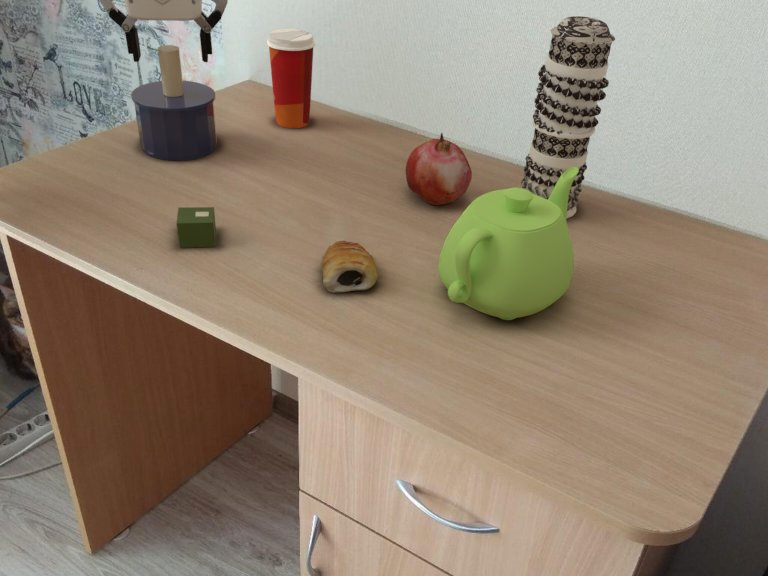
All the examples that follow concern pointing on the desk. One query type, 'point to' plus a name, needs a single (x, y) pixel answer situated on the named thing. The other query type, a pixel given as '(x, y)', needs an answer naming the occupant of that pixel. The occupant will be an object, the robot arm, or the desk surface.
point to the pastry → (348, 268)
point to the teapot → (510, 251)
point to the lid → (172, 87)
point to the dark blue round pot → (177, 133)
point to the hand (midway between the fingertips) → (171, 59)
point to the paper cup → (291, 75)
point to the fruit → (438, 171)
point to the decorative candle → (567, 105)
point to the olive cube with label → (196, 227)
